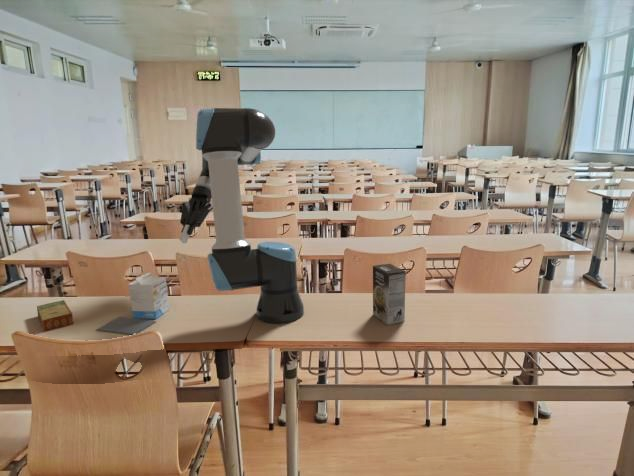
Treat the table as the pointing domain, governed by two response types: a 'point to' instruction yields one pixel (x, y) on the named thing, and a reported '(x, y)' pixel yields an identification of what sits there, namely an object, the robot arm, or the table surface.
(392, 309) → the coffee box
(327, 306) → the table surface
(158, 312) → the ink box
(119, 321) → the rubber mat
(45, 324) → the carton
